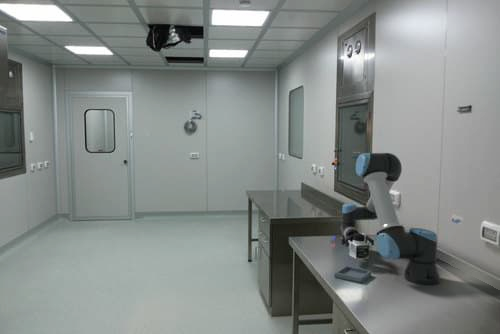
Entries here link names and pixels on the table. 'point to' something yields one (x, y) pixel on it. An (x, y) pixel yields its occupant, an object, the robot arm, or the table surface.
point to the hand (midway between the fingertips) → (361, 246)
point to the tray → (353, 274)
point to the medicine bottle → (359, 247)
